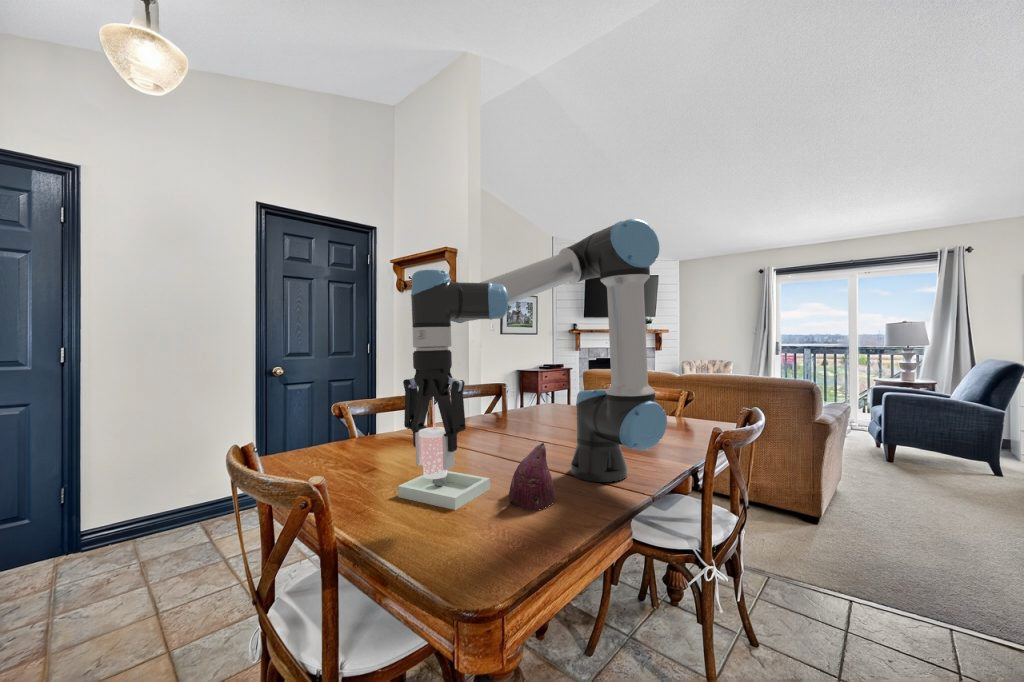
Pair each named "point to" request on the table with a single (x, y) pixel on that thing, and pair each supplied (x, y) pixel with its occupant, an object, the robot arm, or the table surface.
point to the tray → (445, 490)
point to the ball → (439, 481)
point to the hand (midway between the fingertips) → (435, 465)
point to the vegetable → (532, 482)
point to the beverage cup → (432, 451)
